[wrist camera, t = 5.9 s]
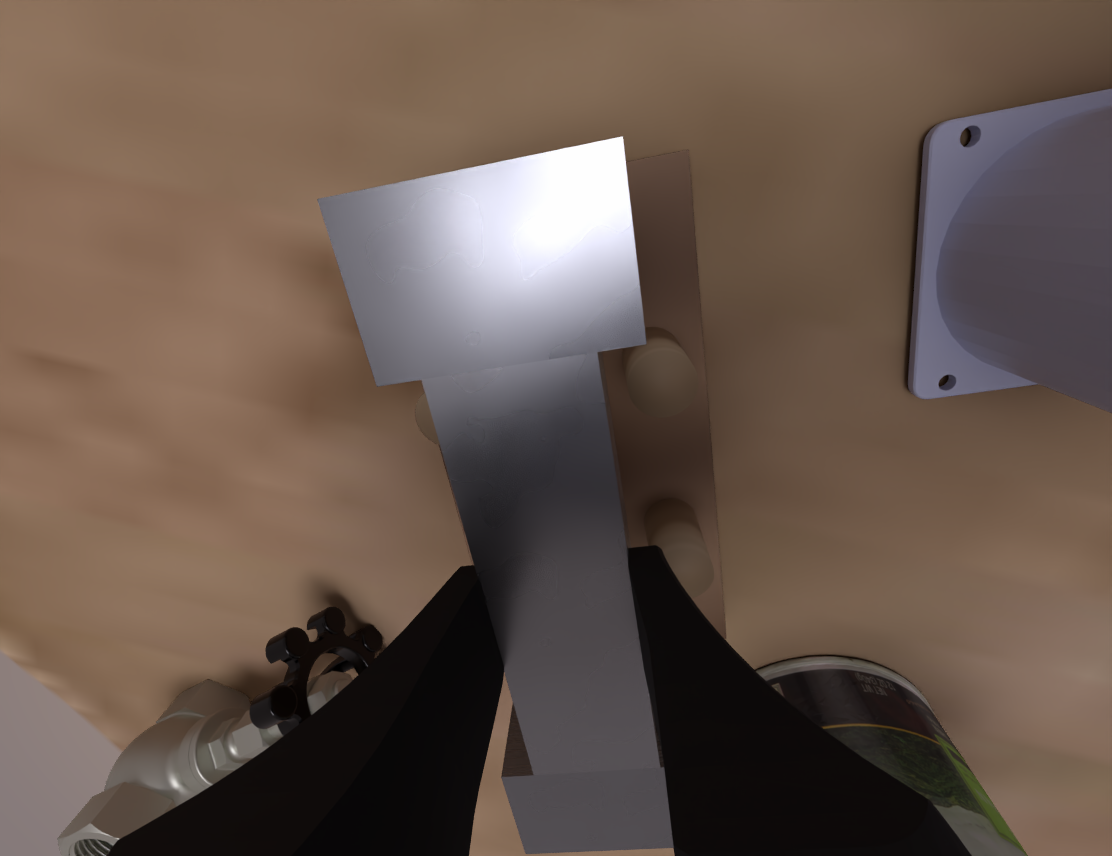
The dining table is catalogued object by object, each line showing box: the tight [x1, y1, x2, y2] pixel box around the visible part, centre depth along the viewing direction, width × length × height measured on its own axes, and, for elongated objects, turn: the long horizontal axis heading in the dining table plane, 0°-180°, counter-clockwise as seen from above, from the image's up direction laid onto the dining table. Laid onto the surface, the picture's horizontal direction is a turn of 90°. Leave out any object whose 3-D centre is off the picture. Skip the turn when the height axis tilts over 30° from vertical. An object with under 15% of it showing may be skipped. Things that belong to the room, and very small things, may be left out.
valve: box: [57, 607, 382, 856], centre depth 22 cm, size 7×7×12 cm
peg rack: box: [415, 150, 726, 639], centre depth 17 cm, size 17×9×4 cm, turn 10°
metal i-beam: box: [317, 137, 674, 854], centre depth 13 cm, size 16×5×4 cm, turn 10°
